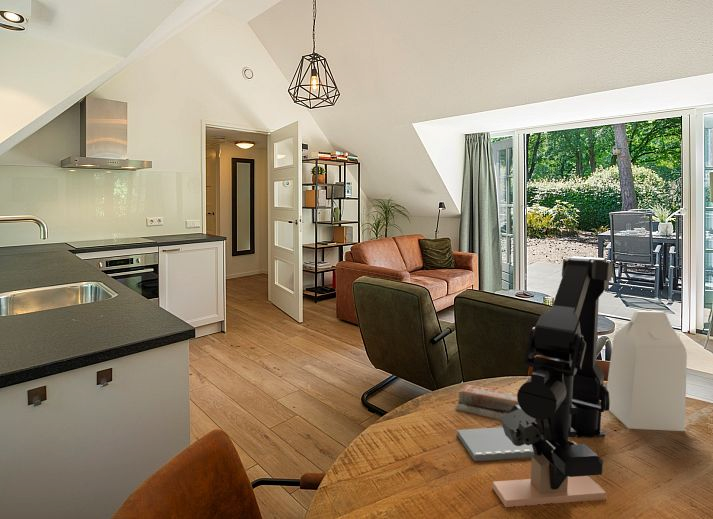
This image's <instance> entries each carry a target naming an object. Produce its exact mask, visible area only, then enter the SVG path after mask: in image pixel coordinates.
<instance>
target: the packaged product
mask: <svg viewBox="0 0 713 519" xmlns="http://www.w3.org/2000/svg"><path fill="white" fill-rule="evenodd" d="M515 405H519V403H518V400H517V394H514V393H511V392H506V391H501V390H496V389H491V388H488V387H482V386H477V385H474V384H465V385H464V386H463V388H461V389H460V391H459V392H458V402H457V403H456V406H455V410H458V411H462V412H466V413H470V414H474V415H479V416H481V417H487V418H491V419H495V420H500V418H501V417H502V416H503V415H506V414H508V413H510V410H511V409H512V408H513V407H514V406H515ZM500 421H501V420H500Z"/></svg>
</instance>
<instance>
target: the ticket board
mask: <svg viewBox="0 0 713 519" xmlns="http://www.w3.org/2000/svg"><path fill="white" fill-rule="evenodd" d="M456 436H457V437H458V438H459V440H460V442H461V444H463V446H464V448H465V449H466V451H467V452H468V454H469V455H470V457H471V458H472V460H473V461H474V462H483V461H497V460H499V461H500V460H513V459H514V460H515V459H528V458H529V459H530V458H531V459H532V456H535V454H534V451H533V447H532V444H531V445H526V444H524V445H522V446H515V445H514V444H513V443H512V441H511V440H510V439H509V438H508V437H507V436H506V435H505V432H504V429H503V426H501V427H500V426H499V427H485V428H482V427H481V428H468V429H457V430H456Z"/></svg>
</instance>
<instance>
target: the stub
mask: <svg viewBox="0 0 713 519" xmlns="http://www.w3.org/2000/svg"><path fill="white" fill-rule="evenodd" d="M530 462H531V465H530V466H531V467H530V478H528V479H527V478H526V479H525V478H524V479H513V480H512V479H511V480H510V479H509V480H496V481H492V489H493V491H494V492H495V494H496V495H497V496H498V498H499V500H500V501H501V502H502V504H503V506H504V507H505V508H512V507H513V508H514V506H515V507H525V505H527V506H538V504H540V505H549V503H553V504H562V503H563V502H565V503H575V502H576V503H577V502H587V501H590V502H591V501H601V500H602V501H603V500H607V491H605V489H604V488H602V487H601V486H600V485H599V484H598V483H597V482H595V481H594V480H593V479H592V478H591V476H577V477H569V476H567V477H566V479H565V480H564V481H563V483H562V484H561V485H560V487H559V488H558V489H555V490H553V489H552V488H551V485H550V474H549V461H548V460H547V459H546V458H545V457H544V456H543V455H539V456H532V457H531V460H530ZM547 503H548V504H547ZM563 504H564V503H563Z"/></svg>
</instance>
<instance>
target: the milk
mask: <svg viewBox="0 0 713 519" xmlns="http://www.w3.org/2000/svg"><path fill="white" fill-rule="evenodd" d="M687 356H688V354H687V349H686V347H685V344H684V343H683V341H682V340H681V338H680V336H679V335H678V334H677V331H675V329H674V327H673V326H672V324H671V323H670V321H669V318H668V316H667V314H666V311H662V310H635V311H634V313H633V314H632V317H631V318H630V320H629V322H628V323H627V324H625V325H624V326H622V327H621V328H620V329H619V330H618V331H617V332H616V333H615V334H614V336H613V341H612V348H611V353H610V362H609V366H608V367H609V368H608V375H607V383H606V386H607V390H608V392H609V398H610V407H609V410H608V411H609V412H610V413H611V414H612V415H614V417H615V418H617V419H618V420H619V421H620V422H621V423H622V424H623V425H624V426H625V427H627V429H629V430H630V429H636V430H653V431H656V430H658V431H672V432H673V431H675V432H676V431H677V432H685V431H686V402H687V400H686V398H687V397H686V396H687V394H686V393H687V392H686V391H687V360H688V359H687V358H688V357H687Z"/></svg>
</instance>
